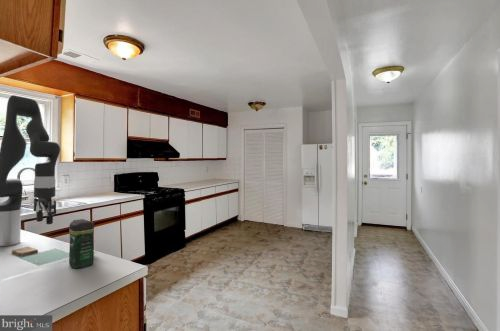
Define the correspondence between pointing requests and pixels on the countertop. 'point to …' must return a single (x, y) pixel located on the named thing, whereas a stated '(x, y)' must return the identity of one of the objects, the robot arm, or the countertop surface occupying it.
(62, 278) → the countertop surface
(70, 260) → the coffee jar
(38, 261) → the mat
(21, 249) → the slab
